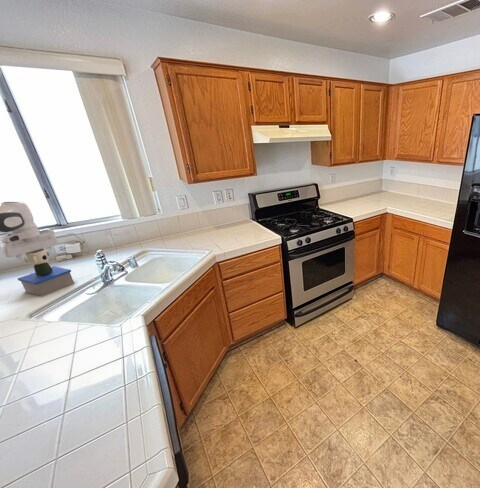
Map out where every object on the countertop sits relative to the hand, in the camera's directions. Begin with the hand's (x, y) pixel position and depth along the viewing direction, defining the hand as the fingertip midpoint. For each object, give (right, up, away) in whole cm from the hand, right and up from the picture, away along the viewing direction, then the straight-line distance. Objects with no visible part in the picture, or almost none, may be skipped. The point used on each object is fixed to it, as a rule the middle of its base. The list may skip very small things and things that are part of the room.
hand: (37, 258), depth 135 cm
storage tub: (0, -16, +6) cm, 17 cm away
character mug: (0, -8, +3) cm, 9 cm away
